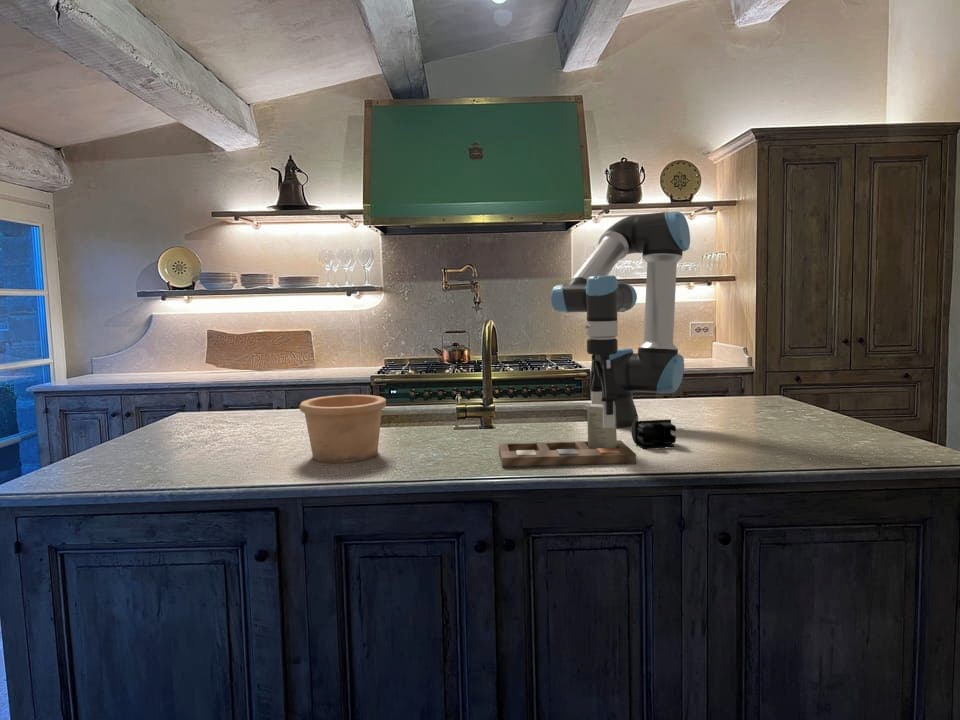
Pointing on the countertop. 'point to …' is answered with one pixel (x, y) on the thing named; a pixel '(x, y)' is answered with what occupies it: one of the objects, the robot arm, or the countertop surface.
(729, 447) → the countertop surface
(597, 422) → the skincare box
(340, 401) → the pottery
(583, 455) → the socket plate
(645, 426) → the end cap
